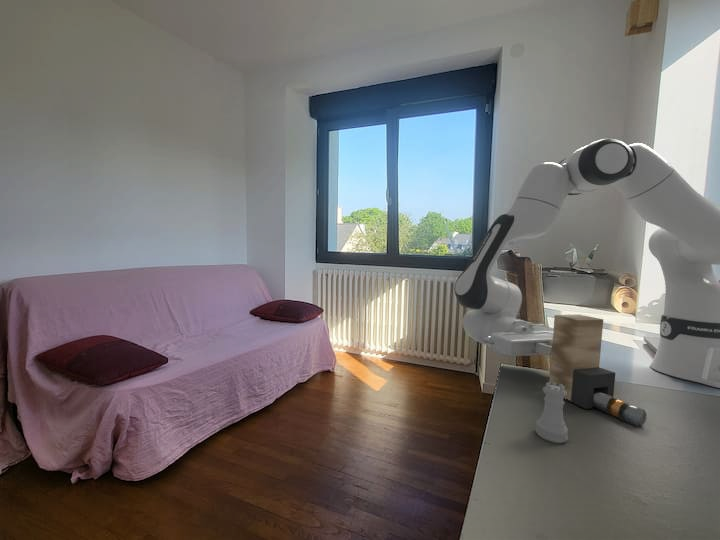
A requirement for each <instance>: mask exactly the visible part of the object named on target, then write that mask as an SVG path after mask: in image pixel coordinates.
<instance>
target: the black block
mask: <svg viewBox="0 0 720 540" xmlns="http://www.w3.org/2000/svg"><path fill="white" fill-rule="evenodd" d="M615 382H616V372H614V371H611V370H609V369H606V368H603V367H600V366H599V367H597V368H587V369H576V370H573V382H572V393H571V401H570V402H571V403H572V402H573V404H574V403H575V405H577V406H579V407H581V408H583V409H585V410H587V409H589V410H590V409H593V394H594V390H597V391H599V392H602V393H604V394H607V395H609V396H612V397H614V394H615V393H614V392H615Z"/></svg>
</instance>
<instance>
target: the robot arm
mask: <svg viewBox="0 0 720 540" xmlns="http://www.w3.org/2000/svg"><path fill="white" fill-rule="evenodd" d="M529 171H530V172H529V173H528V174H527V176H526V178H525V179H524V181H523V182H522V185H521V186H520V188H519V191H518V192H517V195H516V197H515V200H514V201H513V204H512V206H511V207H510V208H509V210H508V211H507V212H506V213H504V214H501V215H499V216H498V217H497V218H496V219H495V220H494V221H493V222H492V224H491V226H490V228H489V229H488V230H487V232H486V234H485V236H484V237H483V238H482V241H481V242H480V244H479V246H478V247H477V249H476V251H475V253H474V254H473V256H472V258H471V259H470V261H469V263H468V265H467V266H466V268H465V269H464V270H463V271H462V273H461V274H459V276H458V277H457V279H456V282H455V283H454V294H455V297H456V300H457V302H458V304H460V306H461V307H463V308H466V309H467V308H468V309H470V310H468V311H467V312H466V313H465V314H464V316H463V318H462V328H463V330H464V332H465V333H466V334H467V335H468V336H469V337H470V338H471V339H472V340H475V341H476V342H478V343H480V344H483V345H485V346H489V348H490V349H491V350H492V351H495V352H496V353H498V354H500V355H501V356H505V357H509V358H510V357H511V358H512V357H514V358H515V357H525V356H529V357H530V356H543V355H545V356H551V354H552V342H553V330H554V328H550V327H546V325H545V324H544V323H540V322H533V321H525V320H523V319H519V318H518V316H519V315H520V312H521V308H522V305H523V301H524V300H523V298H524V297H523V292H522V290H521V288H520V287H519V286H518V285H517V284H515V283H512V282H509V281H507V280H504V279H502V278H498V277H496V276H492V275H491V271H492V269H493V268H494V266H495V264H496V262H497V260H498V259H499V257H500V255H501V254H502V252H503V250H504V249H505V247H506V246H507V245H508V244H509V243H511V242H513V241H517V240H531V239H535V238H539V237H542V236H544V235H546V234H547V233H549V232H550V231H551V229H552V228H553V227H554V226H555V223H556V221H557V219H558V217H559V215H560V212H561V209H562V207H563V204H564V201H565V200H566V198H567V196H576V195H577V196H578V195H581V194H586V193H590V192H594V191H596V190H598V189H600V188H602V187H604V186H607V185H610V186H611V187H613V188H615V189H617V191H618V192H619V194H620V195H621V196H622V198H624V199H625V200H626V201H627V202H628V204H630V206H631V207H632V208H633V210H635V212H636V213H637V214H639V216H640V217H641V218H642V219H643V220H644V221H645V222H647V223H649V224H651V225H654V226H656V227H658V228H657V230H655V231H654V232H653V233H652V234H651V235H650V237H649V240H648V249H649V251H650V254H652V256H653V257H654V258H656V260H657V261H658V263H659V265H660V267H661V270H662V274H663V278H664V284H665V285H664V287H665V297H664V308H663V309H664V310H663V314H662V315H661V318H660V322H659V323H660V324H659V335H660V337H659V342H658V346H657V349H656V353H655V355H654V357H653V360H652V362H651V363H650V366H649V367H650V368H651V369H653V370H655V371H657V372H659V373H663V374H665V375H668V376H670V377H675V378H678V379H682V380H686V381H691V382H695V383H699V384H702V385H706V386H710V387H714V388H719V389H720V281H719V280H718V279H717V278H716V276H715V273H714V270H713V266H712V265H715V266H717V265H719V266H720V206H719V205H718V204H716V203H714V202H713V201H712V200H710V199H708V198H706V197H705V196H703V195H702V194H700V192H698V191H697V190H695V189H694V188H693V187H692V186H691V185H690V184H689V183H688V182H687V181H686V180H685V179H684V177H682V175H680V173H679V172H678V171H677V170H676V169H675V168H674V167H673V166H672V165H671V163H670V162H668V161H667V160H666V159H665V158H664V157H663V156H661V155H660V154H659V153H658V152H656V151H655V150H654V149H652V148H651V147H650V146H647V145H646V144H644V143H639V142H636V143H631V144H627V143H625V142H624V141H622V140H619V139H615V138H602V139H599V140H595V141H593V142H591V143H589V144H587V145H585V146H583V147H580V148H578V149H577V150H575V151H574V152H573V153H571V154H570V155H569V156H567V157H566V158H564V159H563V160H561V161H560V162H558V163H556V162H540V163H538V164H536V165H535V166H534V167H532V169H531V170H529Z"/></svg>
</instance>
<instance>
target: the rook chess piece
mask: <svg viewBox="0 0 720 540" xmlns="http://www.w3.org/2000/svg"><path fill="white" fill-rule="evenodd" d="M542 390H543V392H544V394H545V396H544V397H543V401H544V406H543V410H542V413H541V415H540V416H539V419H537V420H536V422H535V424H536V425H535V426H536V427H535V433H536V434H537V436H538V437H539V438H542V439H543V440H544V441H547V442H550V443H554V444H564V443H565V442H567V441H568V440H569V435H568V433H569V431H568V430H569V429H568V426H566V422H565V419H564V412H563V411H564V410H563V409H564V405H565V401H564V400H565V399H564V397H565V396H566V395H567V392H566V391H565V386H563V385H562V384H559V386H556V383H555V382H553V385H551V382H549V381H548V382H547V381H546V382H545V386H543V388H542Z"/></svg>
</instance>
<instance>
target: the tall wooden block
mask: <svg viewBox="0 0 720 540" xmlns="http://www.w3.org/2000/svg"><path fill="white" fill-rule="evenodd" d="M553 319H554V320H553V321H554V322H553V329H554V330H553V342H552V354H551V355H550V356H551V357H550V367H549V379H548V380H549V381H548V382H551V385H553V382H555V383H556V386H559V384H562V385H563V386H565V391H566V392H567V395H566V396H565V397H564V398H566V399H568V400H567V401H569V400H570V401H569V402H571V393H572V382H573V370H576V369H587V368H597V367H600V360H601V351H602V349H601V348H602V340H603V339H602V338H603V329H604V328H603V327H604V318H599V317H594V316H589V315H583V314H554V318H553ZM566 399H565V400H566Z"/></svg>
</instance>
